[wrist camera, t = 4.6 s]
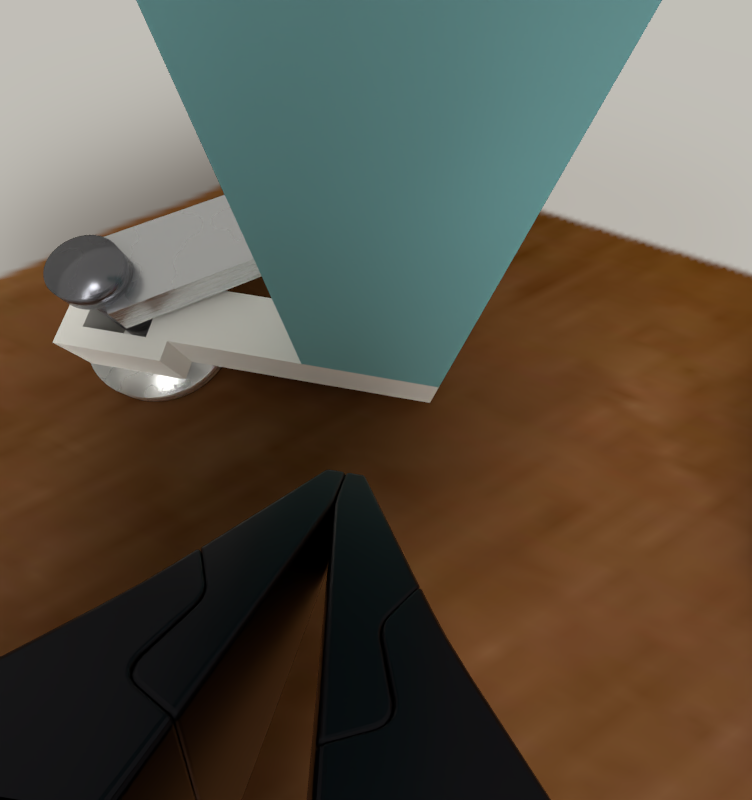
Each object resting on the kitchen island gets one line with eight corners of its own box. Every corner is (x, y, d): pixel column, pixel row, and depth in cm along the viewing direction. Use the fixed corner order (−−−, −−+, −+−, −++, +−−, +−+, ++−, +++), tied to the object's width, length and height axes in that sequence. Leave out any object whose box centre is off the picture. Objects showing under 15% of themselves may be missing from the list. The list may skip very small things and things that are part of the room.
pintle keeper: (117, 424, 16) (2, 385, 11) (82, 308, 17) (-32, 228, 12) (321, 338, 17) (303, 268, 12) (273, 237, 18) (238, 139, 14)
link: (91, 363, 15) (-1079, -262, 3) (126, 280, 17) (-615, -425, 4) (427, 421, 15) (719, -15, 3) (439, 332, 16) (682, -272, 4)
